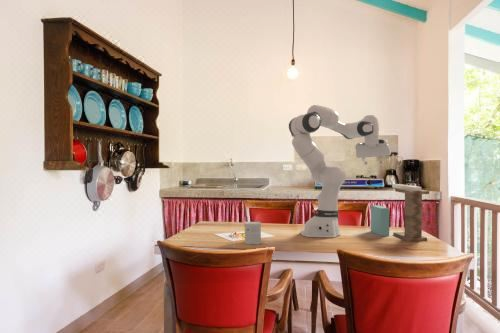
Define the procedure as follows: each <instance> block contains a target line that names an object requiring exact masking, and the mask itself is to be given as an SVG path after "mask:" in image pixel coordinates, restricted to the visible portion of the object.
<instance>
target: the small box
mask: <svg viewBox="0 0 500 333" xmlns="http://www.w3.org/2000/svg"><path fill="white" fill-rule="evenodd" d="M261 226H262V225H261V221H246V222H245V223H244V245H261V242H262V240H261V239H262V238H261V237H262V236H261V230H262V229H261Z"/></svg>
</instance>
